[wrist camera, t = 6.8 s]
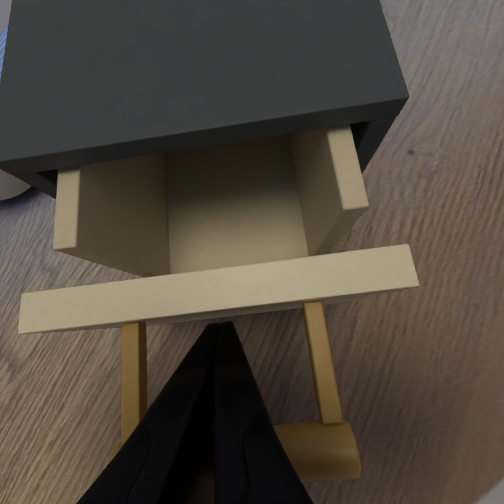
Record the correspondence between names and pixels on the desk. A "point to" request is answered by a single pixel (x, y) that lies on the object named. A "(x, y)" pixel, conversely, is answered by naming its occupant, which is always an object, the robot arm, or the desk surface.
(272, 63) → the cabinet
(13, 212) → the desk surface
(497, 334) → the desk surface
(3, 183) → the teacup
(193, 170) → the drawer
